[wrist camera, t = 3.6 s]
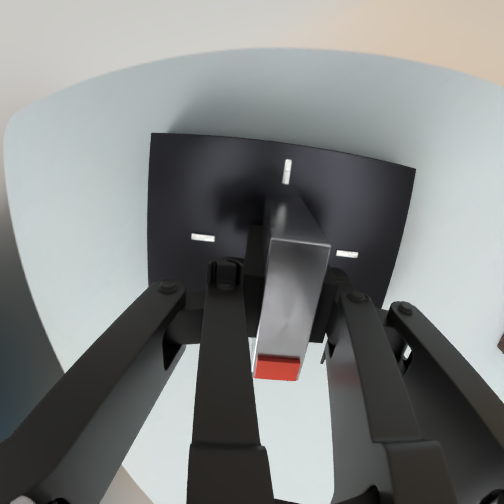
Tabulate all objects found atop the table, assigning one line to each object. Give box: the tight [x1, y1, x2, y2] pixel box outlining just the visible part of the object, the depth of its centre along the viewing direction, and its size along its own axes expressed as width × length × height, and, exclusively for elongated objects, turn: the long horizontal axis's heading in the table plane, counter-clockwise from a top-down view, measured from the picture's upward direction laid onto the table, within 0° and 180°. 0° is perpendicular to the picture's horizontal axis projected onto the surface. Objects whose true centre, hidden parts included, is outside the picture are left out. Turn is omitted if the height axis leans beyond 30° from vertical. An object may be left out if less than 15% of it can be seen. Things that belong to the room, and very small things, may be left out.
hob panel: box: [147, 133, 416, 309], centre depth 20 cm, size 12×16×3 cm
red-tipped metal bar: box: [251, 194, 331, 381], centre depth 14 cm, size 6×2×8 cm, turn 174°
